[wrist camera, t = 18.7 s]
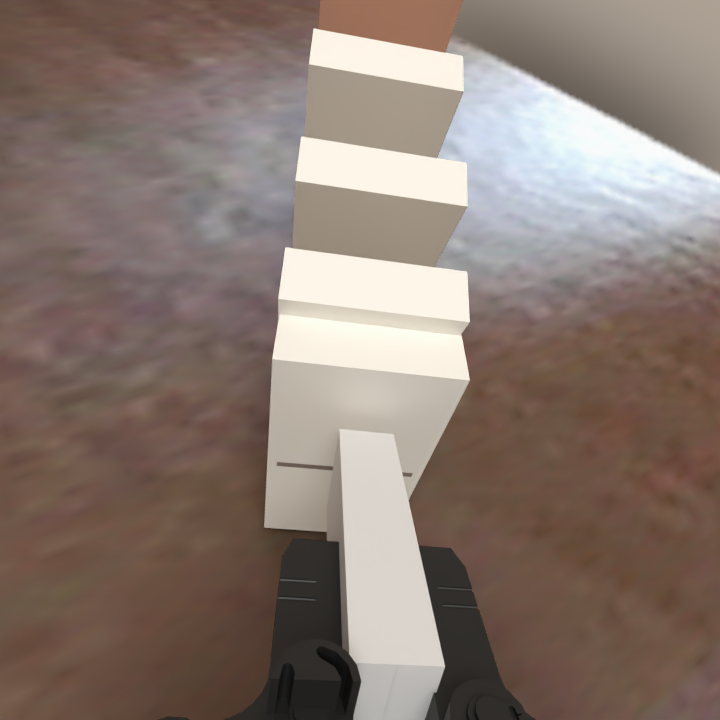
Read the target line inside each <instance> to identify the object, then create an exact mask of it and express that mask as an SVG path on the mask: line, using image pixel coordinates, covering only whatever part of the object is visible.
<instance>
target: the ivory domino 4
mask: <svg viewBox="0 0 720 720" xmlns="http://www.w3.org/2000/svg"><path fill="white" fill-rule="evenodd" d="M469 381H470V379H469V373H468V368H467V363H466V357H465V352H464V346H463V341H462V336H461V335H452V334H444V333H435V332H427V331H419V330H410V329H402V328H393V327H385V326H376V325H368V324H359V323H351V322H342V321H334V320H326V319H317V318H309V317H300V316H292V315H283V314H279V320H278V327H277V333H276V339H275V346H274V352H273V358H272V377H271V398H270V419H269V439H268V460H267V480H266V501H265V522H264V528H277V529H291V530H306V531H321V532H327V504H328V498H329V491H330V485H331V479H332V472H333V466H334V460H335V453H336V447H337V441H338V434H339V429H345V430H356V431H366V432H376V433H387V434H394V438H395V443H396V447H397V452H398V456H399V461H400V465H401V470H402V474H403V479H404V483H405V488H406V492H407V497H408V500H409V498H410V496H411V494H412V492H413V490H414V488H415V486H416V484H417V482H418V480H419V478H420V477H421V475H422V473H423V471H424V469H425V467H426V465H427V463H428V461H429V459H430V457H431V455H432V453H433V451H434V449H435V447H436V445H437V443H438V441H439V439H440V438H441V436H442V434H443V432H444V430H445V428H446V426H447V424H448V422H449V420H450V418H451V416H452V414H453V412H454V410H455V408H456V406H457V404H458V402H459V400H460V399H461V397H462V395H463V393H464V391H465V389H466V387H467V385H468V383H469Z"/></svg>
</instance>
